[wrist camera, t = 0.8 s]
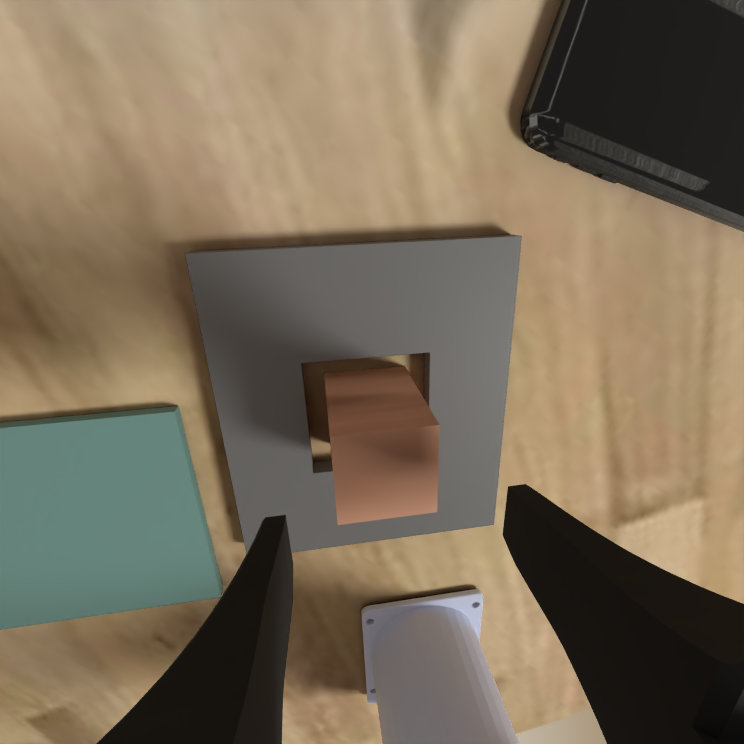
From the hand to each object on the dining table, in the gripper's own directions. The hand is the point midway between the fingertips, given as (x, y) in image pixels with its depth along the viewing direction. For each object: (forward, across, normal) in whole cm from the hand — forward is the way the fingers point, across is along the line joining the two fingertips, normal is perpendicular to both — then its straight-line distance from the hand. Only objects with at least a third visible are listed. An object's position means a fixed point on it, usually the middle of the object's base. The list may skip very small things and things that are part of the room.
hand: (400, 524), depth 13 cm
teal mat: (+8, +15, +5) cm, 18 cm away
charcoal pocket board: (+8, 0, 0) cm, 9 cm away
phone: (+9, -15, -13) cm, 22 cm away
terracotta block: (+9, 0, 0) cm, 9 cm away
